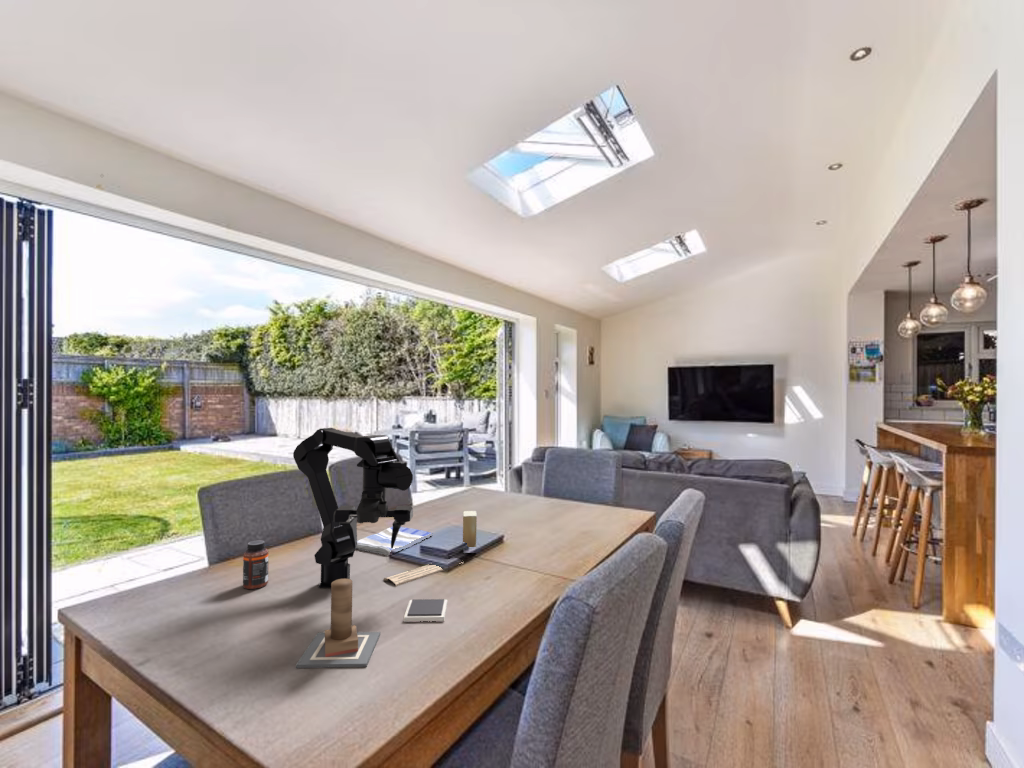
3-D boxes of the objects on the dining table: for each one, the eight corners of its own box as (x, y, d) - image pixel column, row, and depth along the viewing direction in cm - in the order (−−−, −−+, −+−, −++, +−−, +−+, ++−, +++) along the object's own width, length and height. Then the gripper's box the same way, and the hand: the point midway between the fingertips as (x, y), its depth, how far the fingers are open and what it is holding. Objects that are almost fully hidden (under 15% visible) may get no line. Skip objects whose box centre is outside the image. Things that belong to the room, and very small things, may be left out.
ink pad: (403, 621, 110) (403, 615, 110) (410, 604, 119) (410, 598, 119) (444, 621, 111) (444, 615, 111) (447, 603, 120) (447, 597, 120)
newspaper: (395, 589, 130) (396, 582, 130) (381, 581, 134) (381, 575, 134) (463, 566, 147) (463, 560, 147) (448, 560, 152) (448, 554, 152)
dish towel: (347, 549, 159) (347, 541, 159) (395, 530, 180) (396, 523, 180) (389, 558, 152) (389, 549, 152) (434, 538, 173) (434, 530, 173)
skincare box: (462, 547, 161) (463, 510, 161) (476, 547, 161) (476, 510, 161) (462, 554, 154) (462, 515, 154) (476, 554, 155) (476, 515, 155)
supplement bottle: (273, 583, 130) (274, 540, 131) (253, 591, 125) (253, 547, 125) (257, 579, 133) (258, 537, 133) (237, 587, 128) (238, 543, 128)
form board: (296, 667, 92) (296, 664, 92) (318, 635, 104) (318, 632, 104) (366, 666, 93) (366, 663, 93) (380, 634, 104) (380, 631, 104)
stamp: (324, 641, 100) (325, 578, 100) (355, 636, 102) (356, 574, 102) (325, 657, 95) (326, 590, 94) (357, 651, 97) (358, 586, 97)
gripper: (326, 492, 115) (325, 559, 115) (406, 492, 116) (405, 558, 116) (340, 483, 126) (339, 544, 126) (413, 483, 127) (412, 543, 127)
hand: (373, 547), depth 124 cm, fingers open, 9 cm apart
